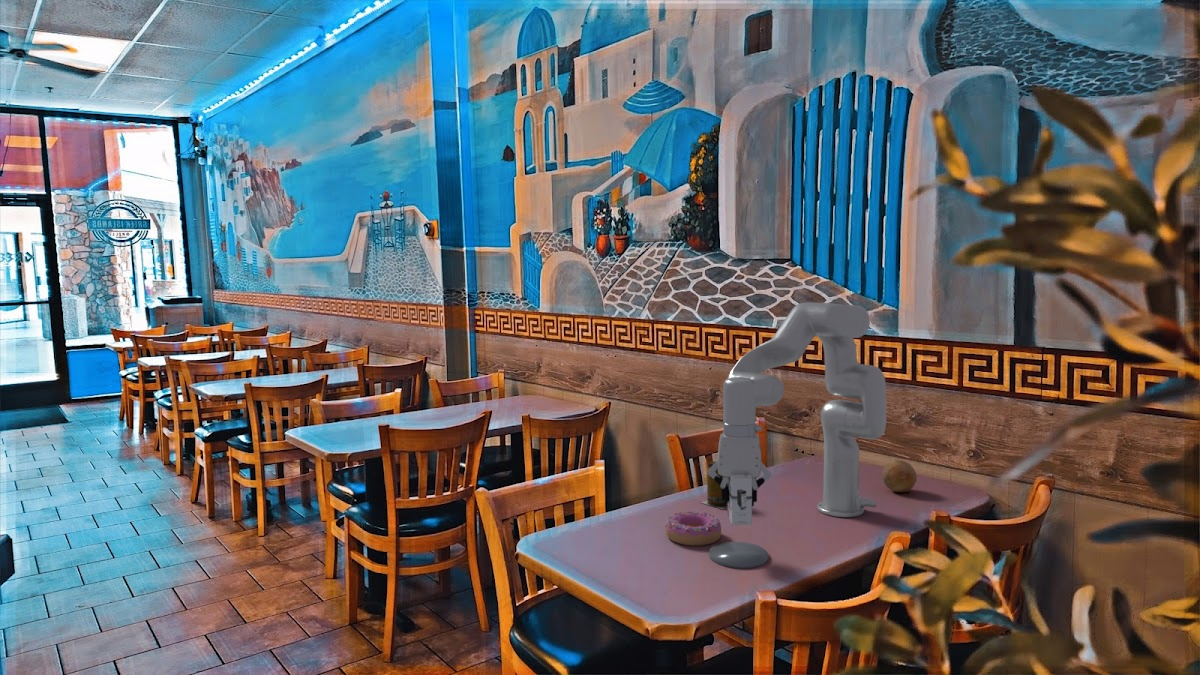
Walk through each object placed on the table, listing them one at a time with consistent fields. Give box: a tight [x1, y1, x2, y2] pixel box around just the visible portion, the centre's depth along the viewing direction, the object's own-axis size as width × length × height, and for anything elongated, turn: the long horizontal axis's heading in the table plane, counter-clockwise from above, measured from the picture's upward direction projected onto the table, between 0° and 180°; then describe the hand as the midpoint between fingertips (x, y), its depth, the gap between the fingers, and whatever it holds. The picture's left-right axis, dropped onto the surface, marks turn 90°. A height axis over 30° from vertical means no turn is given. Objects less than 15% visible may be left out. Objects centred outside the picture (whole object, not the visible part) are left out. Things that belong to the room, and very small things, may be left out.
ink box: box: [726, 475, 753, 526], centre depth 180 cm, size 9×5×12 cm, turn 178°
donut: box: [665, 511, 722, 547], centre depth 195 cm, size 14×14×5 cm
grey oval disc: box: [708, 541, 769, 569], centre depth 182 cm, size 14×14×1 cm
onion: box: [882, 459, 918, 493], centre depth 229 cm, size 10×10×10 cm
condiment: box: [700, 460, 728, 510], centre depth 220 cm, size 7×8×12 cm
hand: (739, 503), depth 180 cm, fingers closed on ink box, 5 cm apart
